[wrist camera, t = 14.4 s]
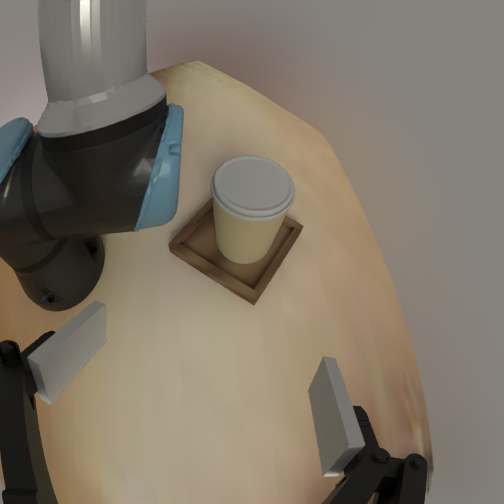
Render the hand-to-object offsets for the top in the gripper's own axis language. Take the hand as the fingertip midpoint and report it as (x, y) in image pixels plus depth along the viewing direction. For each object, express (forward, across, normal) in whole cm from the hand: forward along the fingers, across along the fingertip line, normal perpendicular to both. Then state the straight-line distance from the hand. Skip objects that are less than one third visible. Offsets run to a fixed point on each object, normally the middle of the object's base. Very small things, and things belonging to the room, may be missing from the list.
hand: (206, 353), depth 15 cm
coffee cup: (+26, 0, +1) cm, 26 cm away
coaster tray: (+27, -1, +1) cm, 27 cm away
